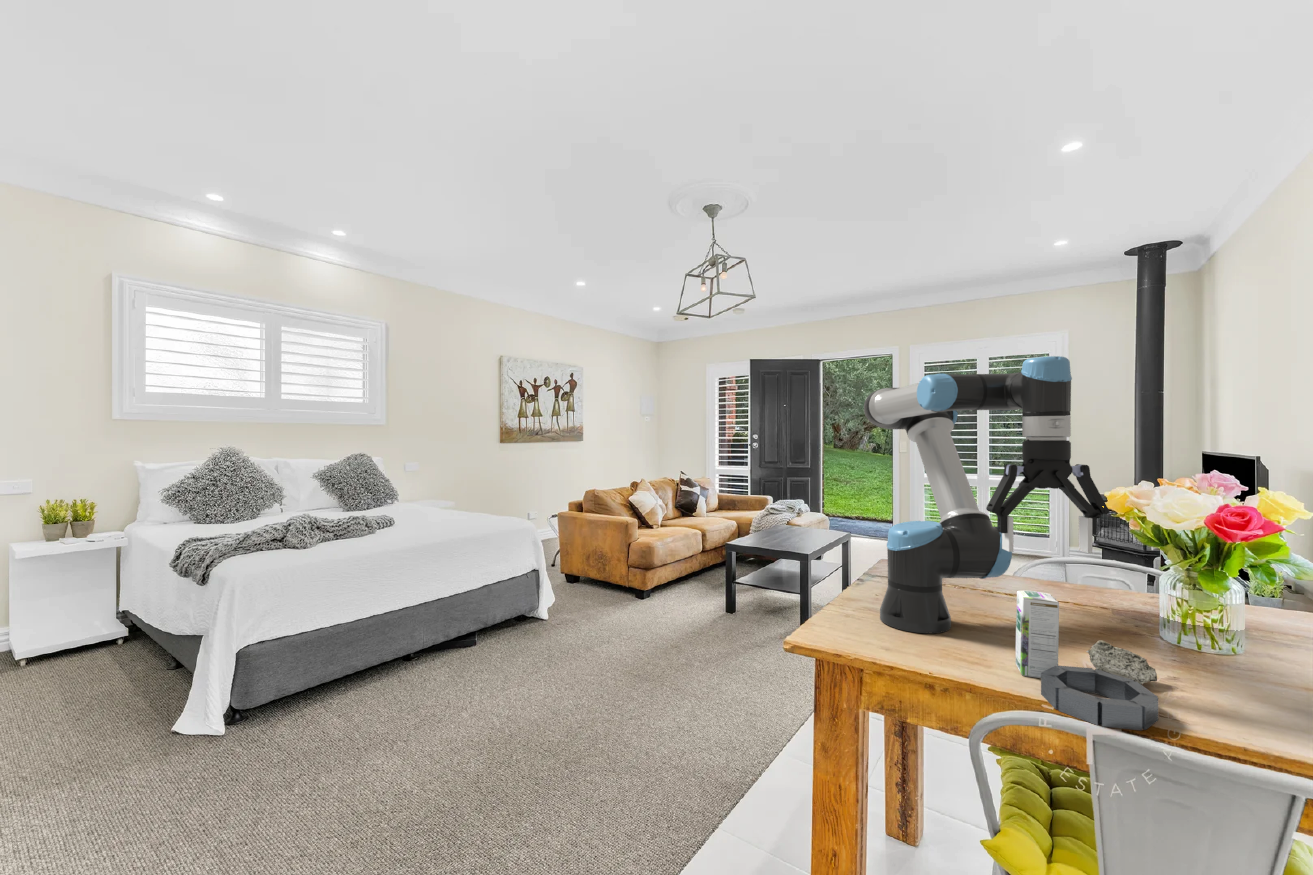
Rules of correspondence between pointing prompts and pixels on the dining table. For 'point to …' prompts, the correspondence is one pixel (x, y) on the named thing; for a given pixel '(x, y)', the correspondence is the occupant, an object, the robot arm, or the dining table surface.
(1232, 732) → the dining table surface
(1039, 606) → the syrup box
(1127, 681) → the collar
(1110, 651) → the rock sample
